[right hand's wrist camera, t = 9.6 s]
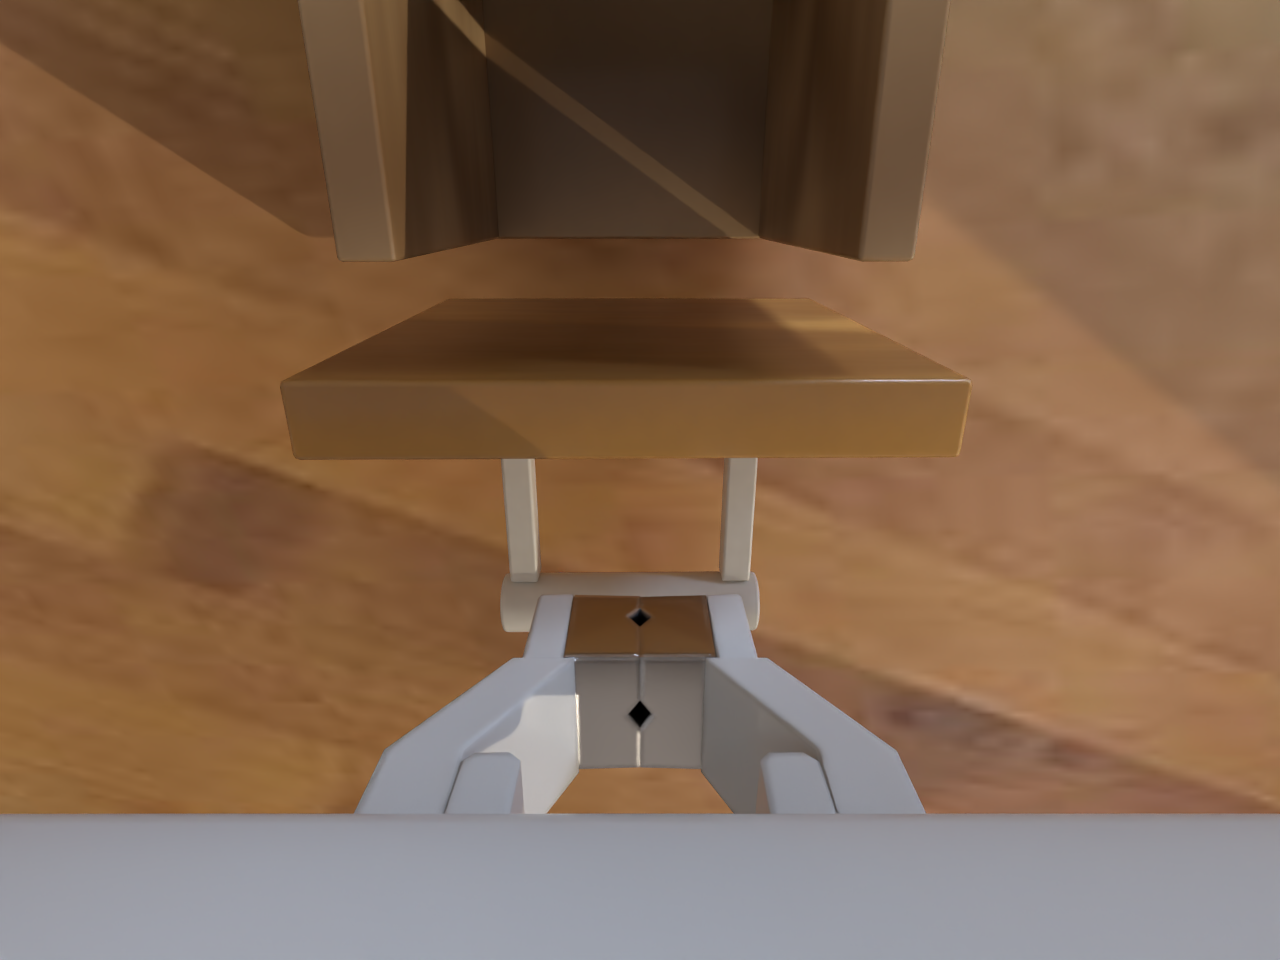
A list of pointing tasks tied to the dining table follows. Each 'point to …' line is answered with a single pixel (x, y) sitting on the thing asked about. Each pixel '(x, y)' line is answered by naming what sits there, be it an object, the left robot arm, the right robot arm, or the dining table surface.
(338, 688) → the dining table surface
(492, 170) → the drawer
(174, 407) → the dining table surface
